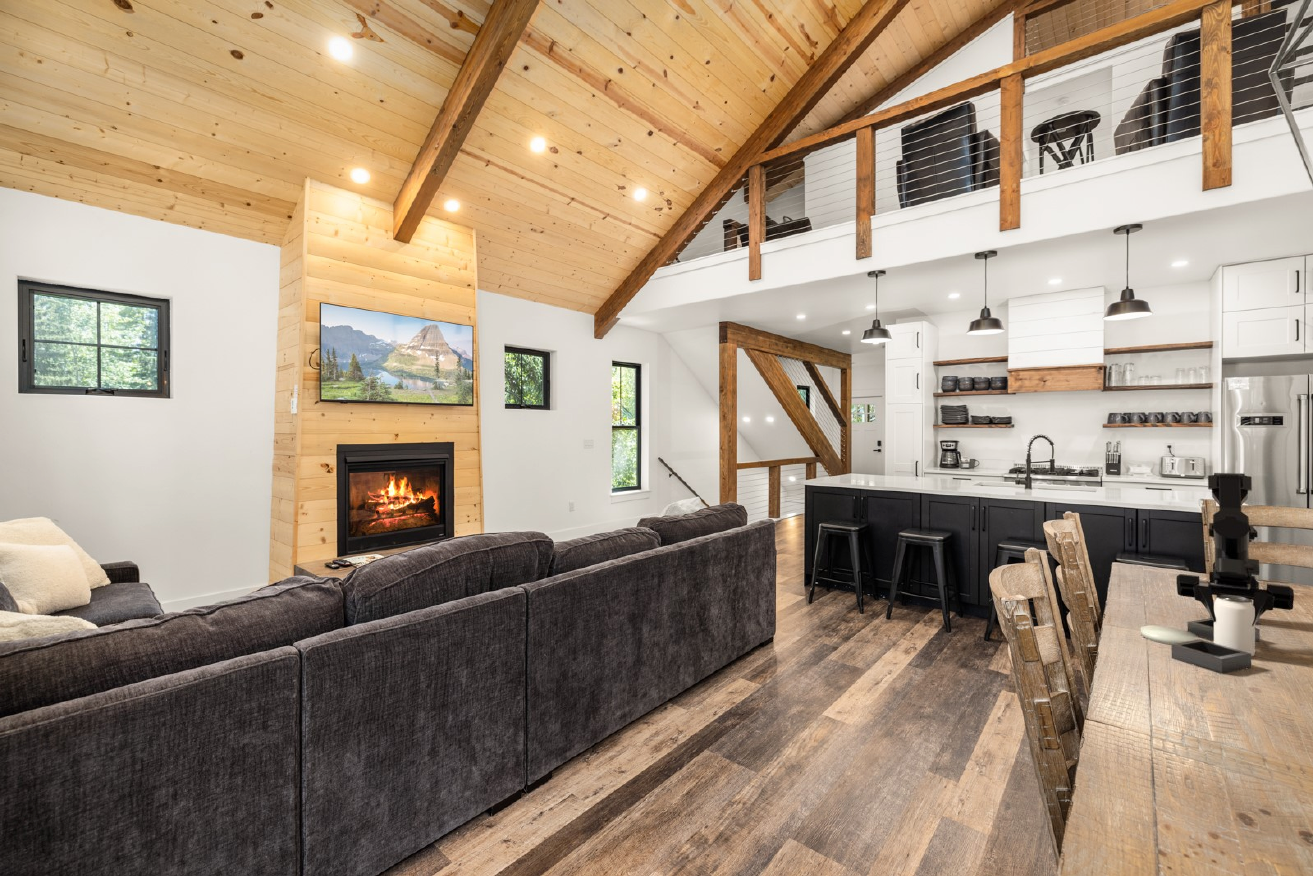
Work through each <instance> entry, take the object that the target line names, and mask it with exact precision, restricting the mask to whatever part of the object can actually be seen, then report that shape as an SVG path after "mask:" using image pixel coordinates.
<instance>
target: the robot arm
mask: <svg viewBox="0 0 1313 876" xmlns="http://www.w3.org/2000/svg"><path fill="white" fill-rule="evenodd" d="M1245 474H1246V473H1244V472H1243V473H1241V472H1239V473H1238V472H1237V473H1235V472H1234V473H1233V472H1214V473H1213V474H1211V475H1207V489H1208V491H1209V490H1211V498H1212V499H1213V500H1214V501H1215V502H1216V503H1217V504H1218V507H1219V510H1218V511H1216V512H1215V513H1214V514H1212V522H1209V523H1208V537H1209V538H1213V542H1214V562H1213V564H1212V571H1211V570H1210V571H1209V573H1208V574H1209V577H1208V578H1209V581H1208V580H1201V579H1200V575H1195V574H1194V575H1193V574H1184V573H1179V574H1177V575H1176V589H1177V590H1176V591H1177V595H1178V596H1180V597H1187V598H1194V600H1195V601H1196V602H1201V604H1202V606H1204V608H1205V609H1206V610H1207V612H1208V613H1209V614H1208V615H1209V618H1212V620H1213V622H1216V617H1215V613H1214V602H1215V601H1214V596H1216V598H1217V595H1233V596H1240V597H1244V598H1248V599H1250V600H1252V604H1253V606H1254V608H1255V618H1254V622H1253V624H1252V626H1254V624H1255V625H1256V624H1257V622H1258V620H1259V619H1260V618H1261V616H1262V615H1263V614H1264V613H1265V612H1267V611H1273V610H1274V609H1279V610H1286V611H1290V610H1294V601H1295V600H1294V599H1295V592H1294V591H1295V590H1294V588H1293V587H1291V586H1290V585H1285V584H1275V583H1274V584H1273V583H1266V589H1262V588H1260V582H1259V581H1258V580H1257V578H1256V576H1260V559H1254V558H1249V557H1250V555H1249V552H1250V550H1249V546H1250V541H1254V540H1255V538H1259V537H1258V531H1257V529H1255V527H1254V525H1250V519H1249V515H1247V514H1245V513H1244V512H1243V511H1242V506H1243V504H1245V502H1246V501H1248V499H1249V492H1251V491H1253V489H1252V488H1253V484H1252V483H1253V482H1252V481H1253V479H1252V476H1250V475H1245Z"/></svg>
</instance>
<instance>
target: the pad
mask: <svg viewBox="0 0 1313 876" xmlns="http://www.w3.org/2000/svg"><path fill="white" fill-rule="evenodd" d="M1140 636H1141V637H1142V636H1143V638H1144V637H1145V639H1146V640H1149V641H1152V642H1155V641H1156V642H1155V643H1159V642H1160V643H1159V644H1164V645H1168V646H1171V644H1176V643H1182V642H1187V641H1193V640H1198V637H1197V636H1196V635H1195V634H1193V633H1191V632H1188V630H1185V629H1181V628H1177V627H1172V626H1171V627H1170V626H1164V625H1151V624H1150V625H1144V626H1141V627H1140Z"/></svg>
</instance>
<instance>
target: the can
mask: <svg viewBox="0 0 1313 876" xmlns="http://www.w3.org/2000/svg"><path fill="white" fill-rule="evenodd" d="M1213 602H1214V613H1215V617H1216V622H1214V641H1213V643H1215V644H1219V645H1222V646H1226V647H1230V648H1233V649H1237V650H1241V651H1244V652H1248V653H1251V658H1252V657H1253V656H1255V655H1256V643H1255V628H1256V624H1254V626H1252V624H1253V622H1254V618H1255V608H1254V606H1253V600H1251V599H1248V598H1244V597H1240V596H1233V595H1217V597H1216V599H1215V600H1214V601H1213Z"/></svg>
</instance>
